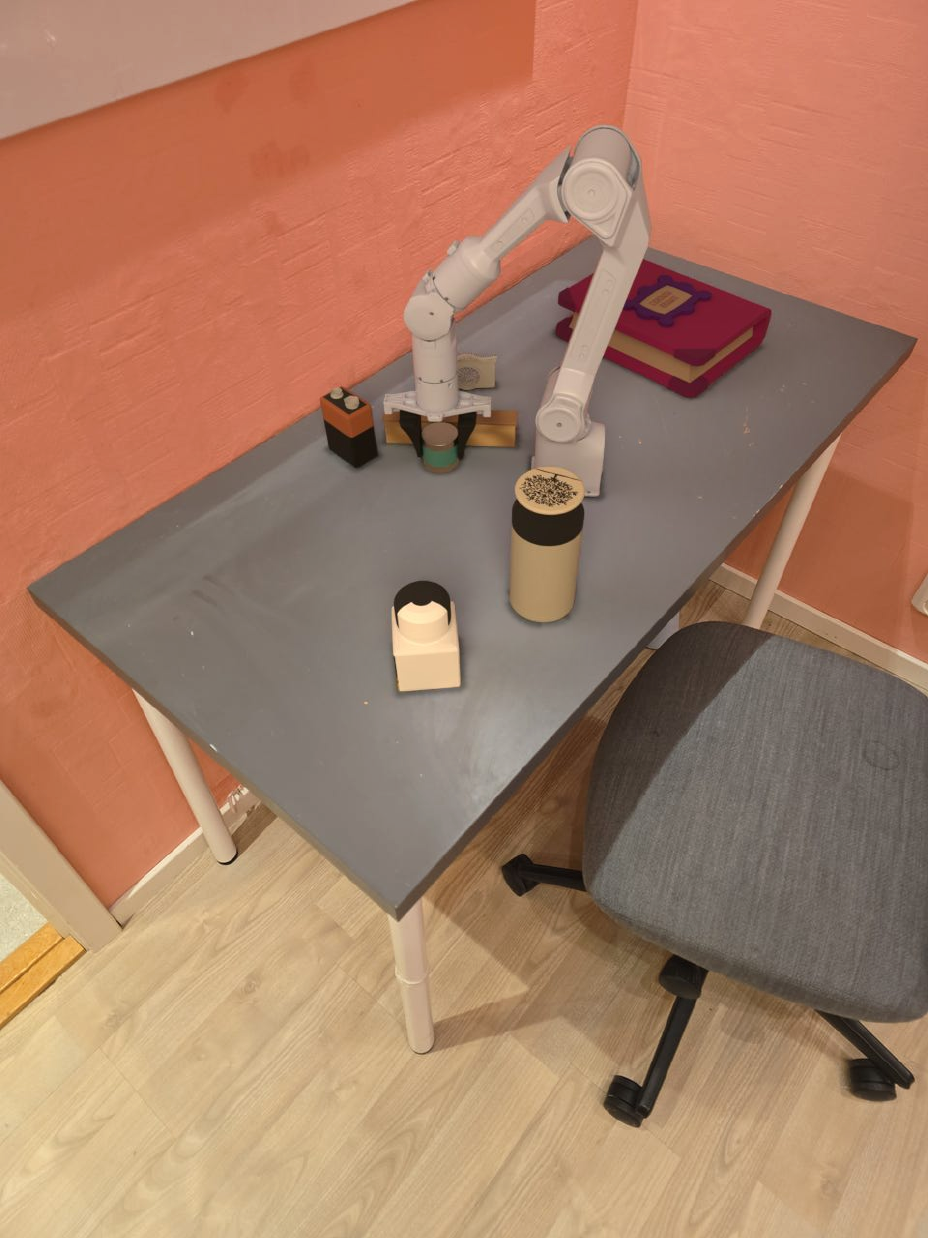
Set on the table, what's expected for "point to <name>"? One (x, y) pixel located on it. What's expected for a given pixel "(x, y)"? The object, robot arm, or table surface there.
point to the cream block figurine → (425, 638)
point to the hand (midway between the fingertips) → (440, 453)
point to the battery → (349, 426)
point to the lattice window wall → (484, 370)
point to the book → (675, 328)
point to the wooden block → (484, 434)
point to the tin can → (440, 447)
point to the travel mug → (546, 543)
